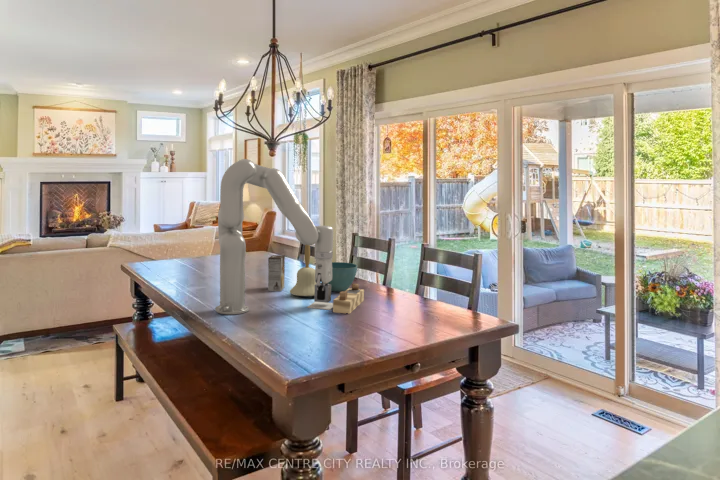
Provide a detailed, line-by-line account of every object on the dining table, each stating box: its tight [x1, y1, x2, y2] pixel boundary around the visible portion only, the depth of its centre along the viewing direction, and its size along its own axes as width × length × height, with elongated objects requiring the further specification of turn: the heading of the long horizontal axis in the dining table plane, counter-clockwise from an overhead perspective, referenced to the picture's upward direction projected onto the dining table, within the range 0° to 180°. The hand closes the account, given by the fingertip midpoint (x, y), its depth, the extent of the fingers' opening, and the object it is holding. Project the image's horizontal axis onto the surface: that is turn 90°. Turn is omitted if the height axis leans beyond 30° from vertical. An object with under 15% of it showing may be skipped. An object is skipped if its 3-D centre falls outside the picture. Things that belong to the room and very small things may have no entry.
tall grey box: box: [313, 284, 332, 303], centre depth 204 cm, size 4×6×7 cm, turn 76°
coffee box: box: [267, 254, 286, 292], centre depth 234 cm, size 9×6×16 cm
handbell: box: [289, 244, 316, 297], centre depth 222 cm, size 15×15×25 cm
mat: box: [306, 302, 333, 311], centre depth 205 cm, size 10×10×1 cm
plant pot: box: [328, 261, 358, 293], centre depth 237 cm, size 18×18×12 cm
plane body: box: [332, 283, 365, 315], centre depth 206 cm, size 24×7×8 cm, turn 166°
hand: (322, 298), depth 205 cm, fingers closed on tall grey box, 4 cm apart
